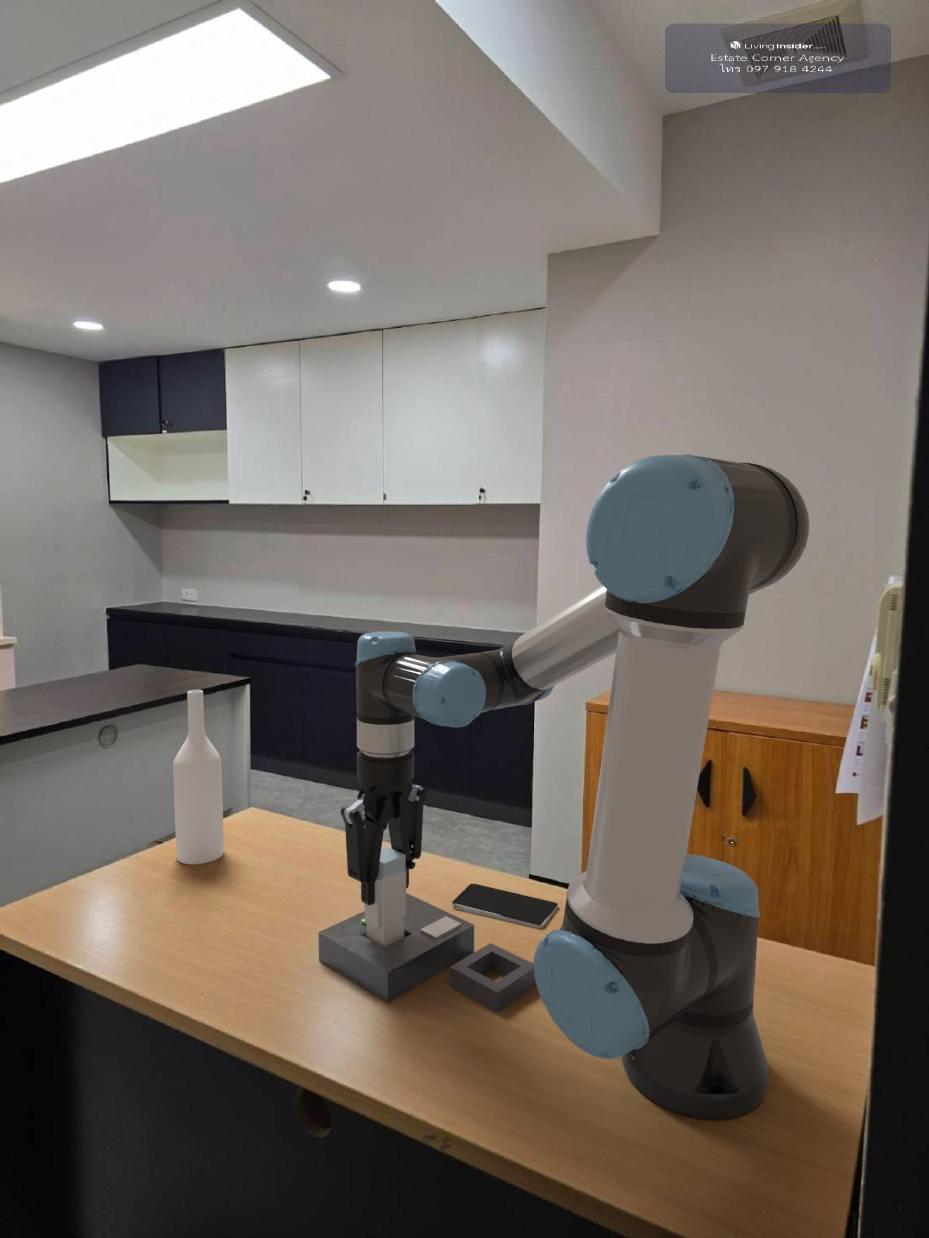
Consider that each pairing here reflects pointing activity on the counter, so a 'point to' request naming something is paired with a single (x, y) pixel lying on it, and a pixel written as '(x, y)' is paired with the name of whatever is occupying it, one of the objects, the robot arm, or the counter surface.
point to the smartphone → (505, 906)
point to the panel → (397, 949)
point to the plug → (390, 899)
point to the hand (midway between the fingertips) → (385, 918)
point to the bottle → (198, 792)
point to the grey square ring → (485, 990)
